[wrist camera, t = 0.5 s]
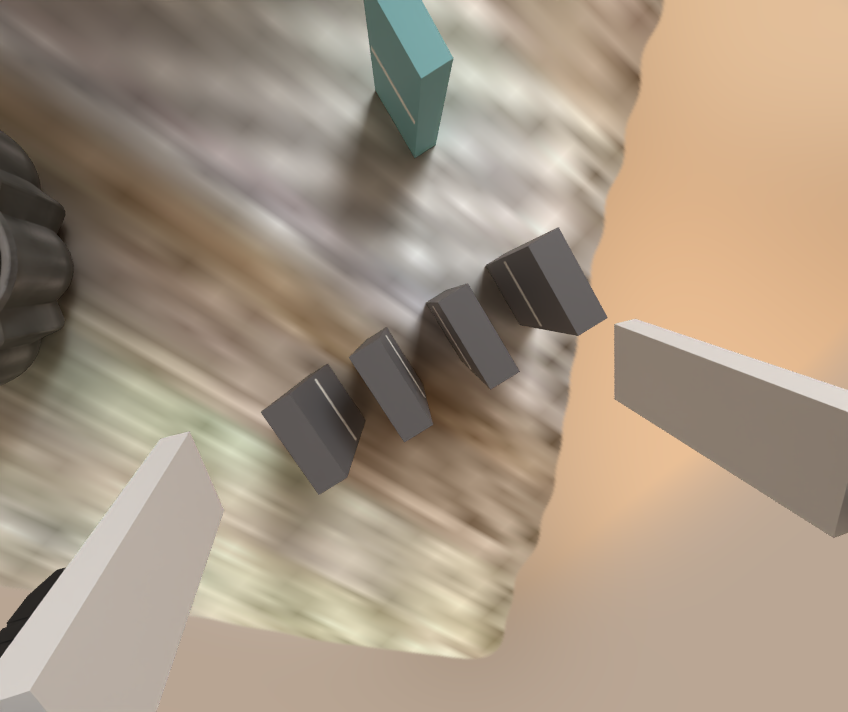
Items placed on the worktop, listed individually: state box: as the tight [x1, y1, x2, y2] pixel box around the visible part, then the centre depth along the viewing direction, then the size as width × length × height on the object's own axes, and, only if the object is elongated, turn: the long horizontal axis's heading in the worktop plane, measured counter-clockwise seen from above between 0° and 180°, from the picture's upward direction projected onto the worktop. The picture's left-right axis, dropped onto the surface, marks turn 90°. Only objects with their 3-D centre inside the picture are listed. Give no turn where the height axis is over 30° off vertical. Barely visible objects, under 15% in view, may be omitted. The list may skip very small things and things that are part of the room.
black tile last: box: [261, 364, 365, 494], centre depth 30 cm, size 6×2×12 cm, turn 32°
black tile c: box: [349, 327, 433, 442], centre depth 30 cm, size 6×2×12 cm, turn 32°
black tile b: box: [426, 284, 520, 389], centre depth 30 cm, size 6×2×12 cm, turn 32°
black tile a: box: [486, 227, 607, 336], centre depth 29 cm, size 6×2×12 cm, turn 32°
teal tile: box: [364, 0, 453, 158], centre depth 27 cm, size 6×2×12 cm, turn 32°
